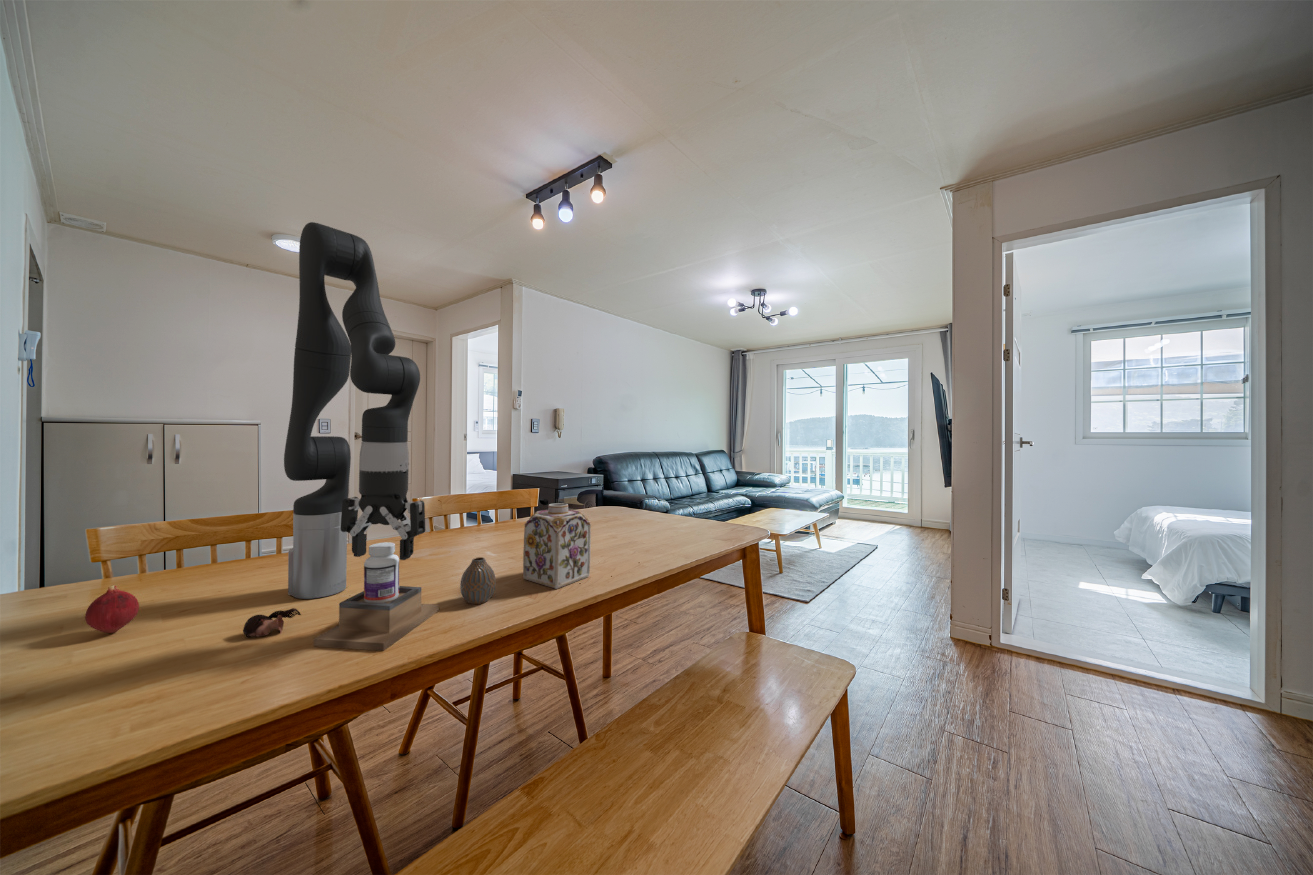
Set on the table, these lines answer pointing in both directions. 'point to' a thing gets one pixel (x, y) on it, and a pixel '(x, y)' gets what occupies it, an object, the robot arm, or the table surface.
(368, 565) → the pill bottle
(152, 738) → the table surface
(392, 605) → the display stand
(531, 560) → the decorative jar
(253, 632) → the head bust
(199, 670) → the table surface
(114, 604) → the onion
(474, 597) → the vase
